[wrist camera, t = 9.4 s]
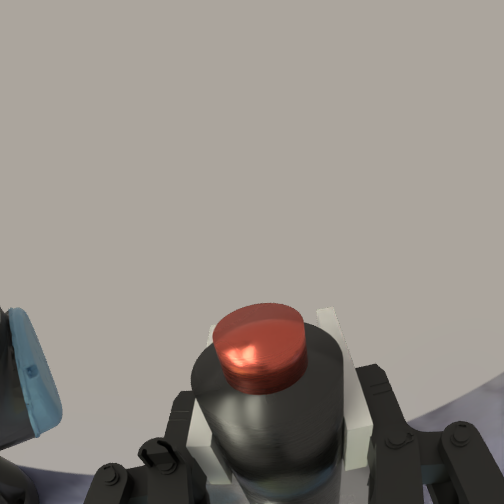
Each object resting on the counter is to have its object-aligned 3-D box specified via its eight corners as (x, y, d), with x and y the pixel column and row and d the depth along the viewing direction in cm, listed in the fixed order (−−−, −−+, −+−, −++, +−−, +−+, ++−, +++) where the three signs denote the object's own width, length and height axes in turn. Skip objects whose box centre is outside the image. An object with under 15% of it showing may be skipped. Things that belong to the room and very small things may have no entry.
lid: (162, 534, 11) (12, 382, 6) (261, 414, 18) (216, 240, 14) (349, 615, 5) (415, 620, 1) (420, 449, 13) (466, 251, 9)
